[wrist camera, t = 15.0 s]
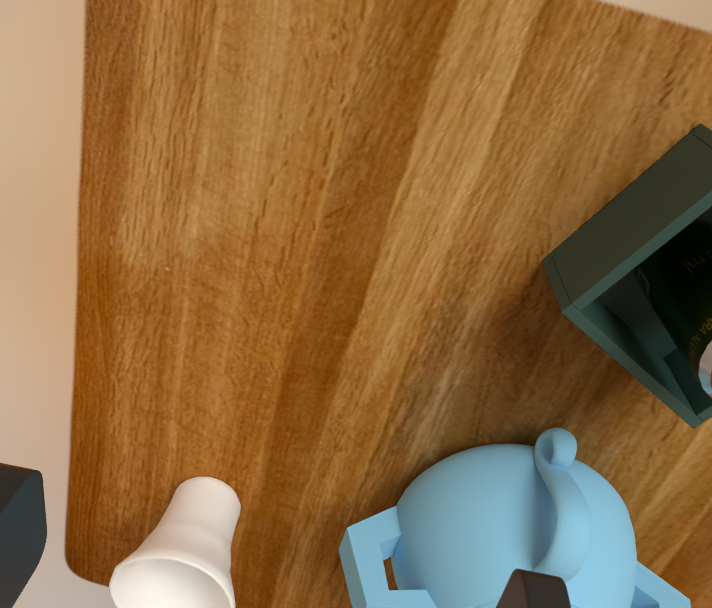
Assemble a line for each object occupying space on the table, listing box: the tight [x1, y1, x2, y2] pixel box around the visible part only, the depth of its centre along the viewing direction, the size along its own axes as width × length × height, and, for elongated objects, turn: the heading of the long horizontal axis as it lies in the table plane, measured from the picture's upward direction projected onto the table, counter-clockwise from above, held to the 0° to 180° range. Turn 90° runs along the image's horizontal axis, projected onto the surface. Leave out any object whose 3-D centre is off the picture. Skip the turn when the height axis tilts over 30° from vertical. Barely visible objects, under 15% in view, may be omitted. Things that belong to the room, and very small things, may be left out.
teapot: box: [339, 427, 691, 608], centre depth 45 cm, size 19×19×14 cm
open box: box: [542, 124, 712, 428], centre depth 37 cm, size 11×11×6 cm
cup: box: [109, 476, 241, 608], centre depth 49 cm, size 9×9×10 cm
